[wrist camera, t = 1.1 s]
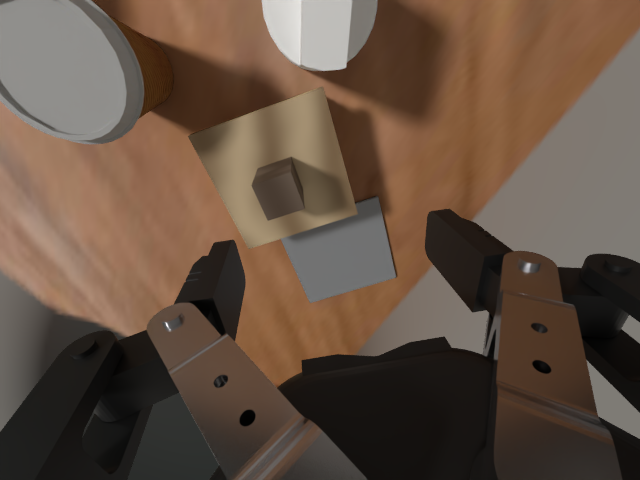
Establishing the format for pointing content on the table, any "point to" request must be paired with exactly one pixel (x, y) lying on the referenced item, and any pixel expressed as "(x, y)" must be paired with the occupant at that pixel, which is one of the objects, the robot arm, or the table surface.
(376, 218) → the mat
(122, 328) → the table surface
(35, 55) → the disposable coffee cup
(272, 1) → the white knob
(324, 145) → the lid
